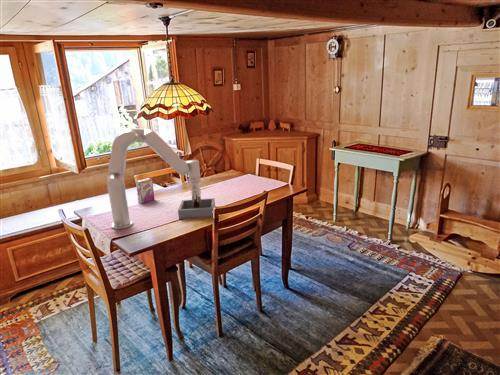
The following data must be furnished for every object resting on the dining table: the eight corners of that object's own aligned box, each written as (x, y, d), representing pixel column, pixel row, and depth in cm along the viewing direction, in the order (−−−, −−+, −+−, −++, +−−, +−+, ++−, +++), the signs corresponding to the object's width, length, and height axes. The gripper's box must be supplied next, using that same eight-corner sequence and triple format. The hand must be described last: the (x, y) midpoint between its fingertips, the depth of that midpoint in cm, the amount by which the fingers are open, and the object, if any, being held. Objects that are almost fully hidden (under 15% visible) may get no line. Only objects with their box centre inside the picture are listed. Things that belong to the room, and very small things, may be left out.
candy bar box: (142, 204, 259) (139, 182, 255) (138, 202, 262) (135, 181, 258) (155, 199, 267) (152, 178, 263) (151, 198, 271) (148, 177, 266)
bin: (213, 217, 228) (213, 208, 226) (178, 219, 227) (177, 210, 225) (215, 206, 247) (214, 198, 245) (182, 208, 246) (182, 200, 244)
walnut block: (200, 209, 234) (199, 196, 231) (193, 210, 233) (191, 197, 231) (201, 207, 238) (200, 194, 236) (193, 207, 238) (192, 194, 236)
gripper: (199, 182, 222) (201, 210, 227) (201, 175, 238) (203, 201, 244) (187, 183, 222) (189, 210, 227) (190, 176, 238) (192, 202, 243)
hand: (197, 205), depth 235 cm, fingers closed on walnut block, 5 cm apart
